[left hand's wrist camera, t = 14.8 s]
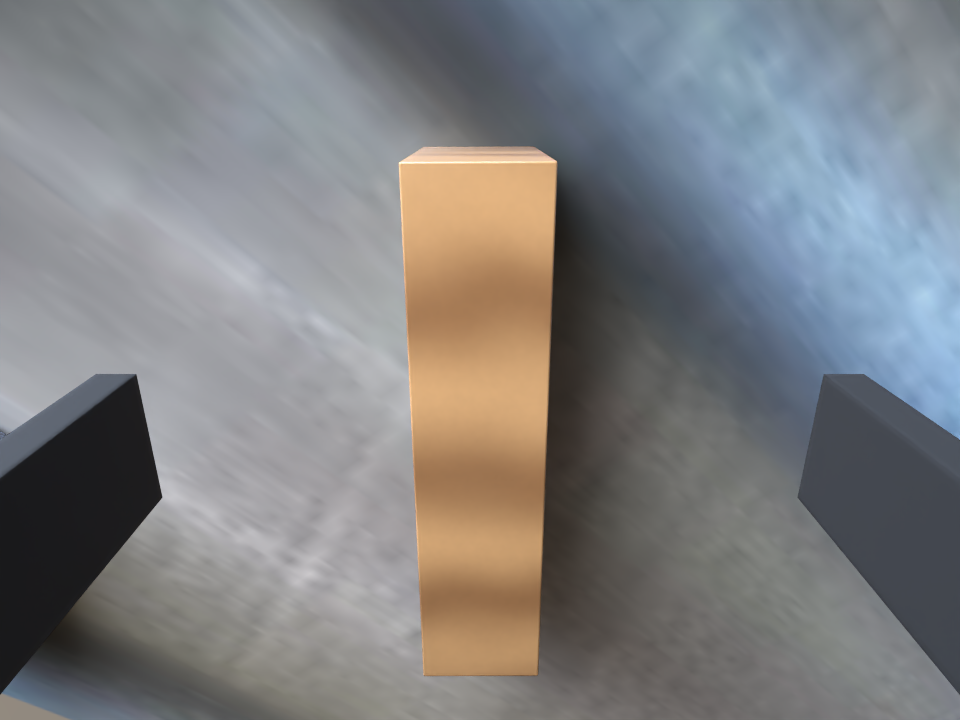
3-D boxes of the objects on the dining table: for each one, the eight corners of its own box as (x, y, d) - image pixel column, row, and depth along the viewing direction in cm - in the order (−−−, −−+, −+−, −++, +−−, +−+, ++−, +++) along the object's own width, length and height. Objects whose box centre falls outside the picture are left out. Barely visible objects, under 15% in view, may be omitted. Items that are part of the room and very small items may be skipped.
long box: (422, 147, 34) (398, 161, 24) (535, 146, 34) (557, 161, 24) (436, 546, 43) (423, 676, 33) (524, 546, 43) (538, 676, 33)
